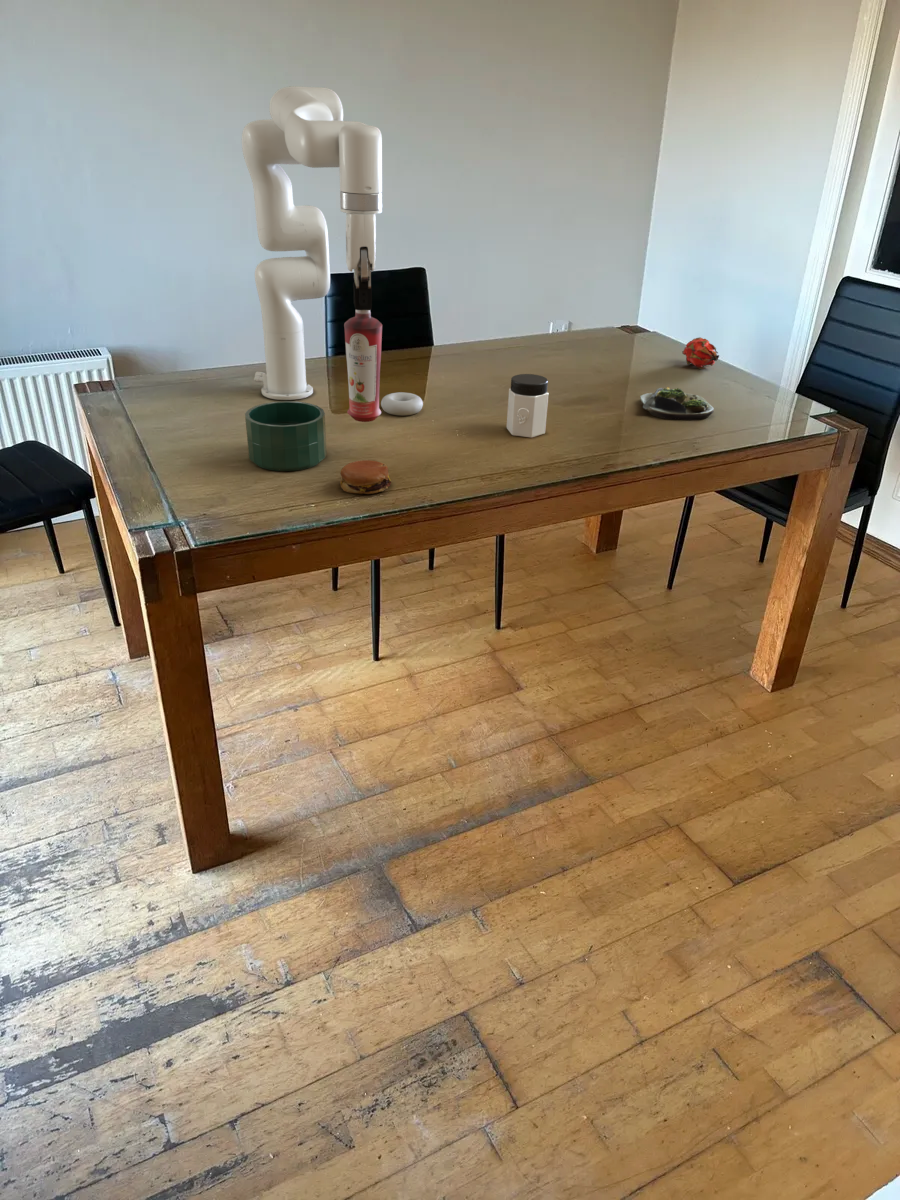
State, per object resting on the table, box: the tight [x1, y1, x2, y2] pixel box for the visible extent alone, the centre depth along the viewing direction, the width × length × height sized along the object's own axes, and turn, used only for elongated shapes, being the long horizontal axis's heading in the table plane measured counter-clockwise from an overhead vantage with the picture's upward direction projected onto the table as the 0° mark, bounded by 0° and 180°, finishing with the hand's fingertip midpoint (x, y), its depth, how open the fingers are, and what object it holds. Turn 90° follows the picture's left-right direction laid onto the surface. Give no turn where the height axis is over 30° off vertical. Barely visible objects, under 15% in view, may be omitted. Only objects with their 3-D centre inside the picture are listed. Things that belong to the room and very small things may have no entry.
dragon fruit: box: [681, 336, 720, 370], centre depth 248 cm, size 8×8×12 cm
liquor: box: [343, 274, 383, 423], centre depth 171 cm, size 7×7×28 cm
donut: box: [380, 391, 424, 417], centre depth 207 cm, size 10×4×10 cm
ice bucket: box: [244, 400, 327, 472], centre depth 177 cm, size 16×16×10 cm
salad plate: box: [640, 386, 715, 421], centre depth 215 cm, size 19×18×5 cm
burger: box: [339, 459, 392, 495], centre depth 166 cm, size 10×9×5 cm
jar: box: [506, 373, 549, 439], centre depth 194 cm, size 9×8×12 cm
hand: (362, 306), depth 167 cm, fingers closed on liquor, 2 cm apart
